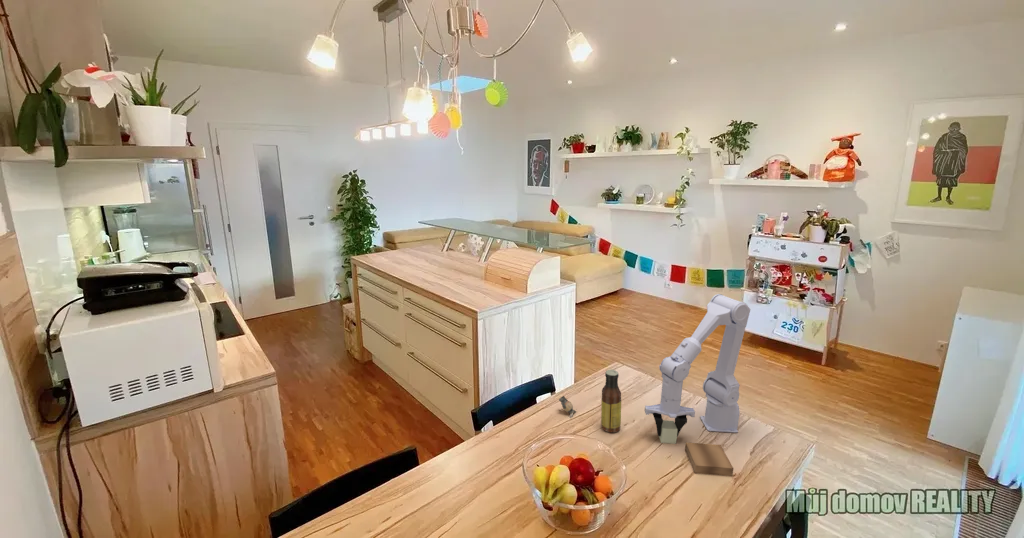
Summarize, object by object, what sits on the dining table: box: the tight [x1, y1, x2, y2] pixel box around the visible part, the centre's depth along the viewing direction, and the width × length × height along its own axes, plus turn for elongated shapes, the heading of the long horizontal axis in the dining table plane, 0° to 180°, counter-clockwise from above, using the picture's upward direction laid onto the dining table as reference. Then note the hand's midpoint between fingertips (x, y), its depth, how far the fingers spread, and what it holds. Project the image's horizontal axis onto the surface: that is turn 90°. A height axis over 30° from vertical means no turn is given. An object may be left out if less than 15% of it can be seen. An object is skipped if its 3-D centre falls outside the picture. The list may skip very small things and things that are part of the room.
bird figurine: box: [558, 396, 577, 420], centre depth 147 cm, size 5×5×6 cm
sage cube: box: [658, 419, 678, 445], centre depth 134 cm, size 4×4×5 cm
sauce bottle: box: [600, 369, 622, 434], centre depth 137 cm, size 7×6×20 cm
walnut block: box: [684, 441, 734, 477], centre depth 124 cm, size 10×10×3 cm
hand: (667, 434), depth 134 cm, fingers closed on sage cube, 4 cm apart
